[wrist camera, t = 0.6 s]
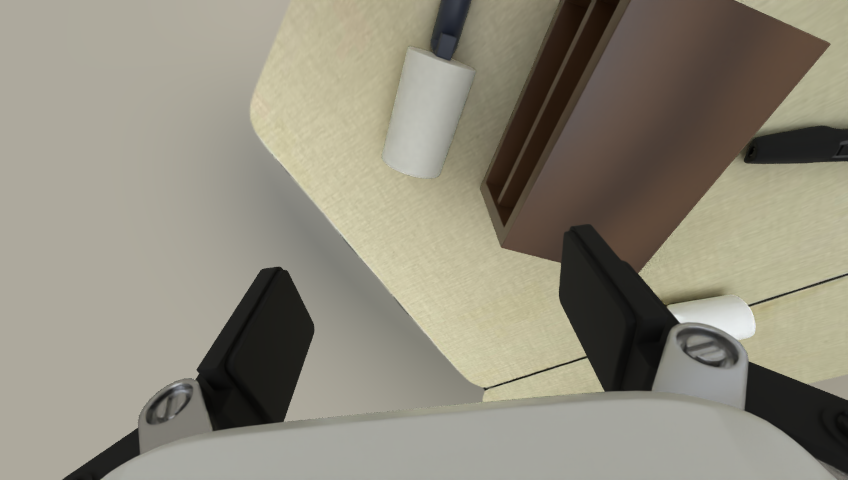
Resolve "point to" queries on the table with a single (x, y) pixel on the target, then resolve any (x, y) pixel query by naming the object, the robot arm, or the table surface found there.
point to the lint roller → (429, 98)
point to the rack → (636, 118)
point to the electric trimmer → (800, 146)
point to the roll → (718, 314)
